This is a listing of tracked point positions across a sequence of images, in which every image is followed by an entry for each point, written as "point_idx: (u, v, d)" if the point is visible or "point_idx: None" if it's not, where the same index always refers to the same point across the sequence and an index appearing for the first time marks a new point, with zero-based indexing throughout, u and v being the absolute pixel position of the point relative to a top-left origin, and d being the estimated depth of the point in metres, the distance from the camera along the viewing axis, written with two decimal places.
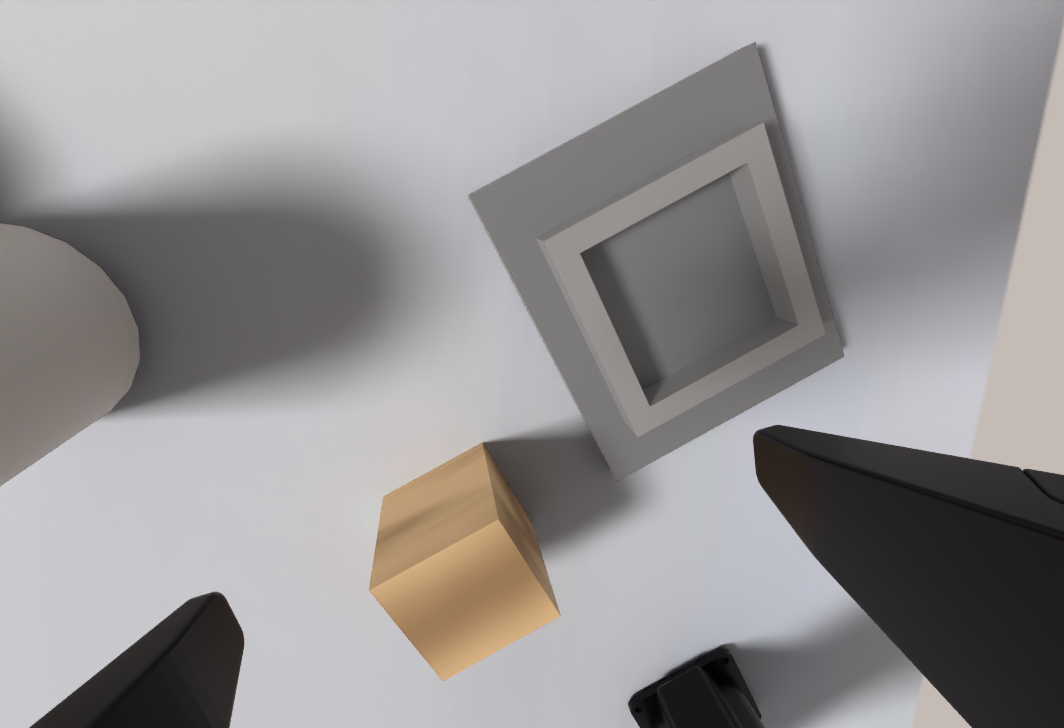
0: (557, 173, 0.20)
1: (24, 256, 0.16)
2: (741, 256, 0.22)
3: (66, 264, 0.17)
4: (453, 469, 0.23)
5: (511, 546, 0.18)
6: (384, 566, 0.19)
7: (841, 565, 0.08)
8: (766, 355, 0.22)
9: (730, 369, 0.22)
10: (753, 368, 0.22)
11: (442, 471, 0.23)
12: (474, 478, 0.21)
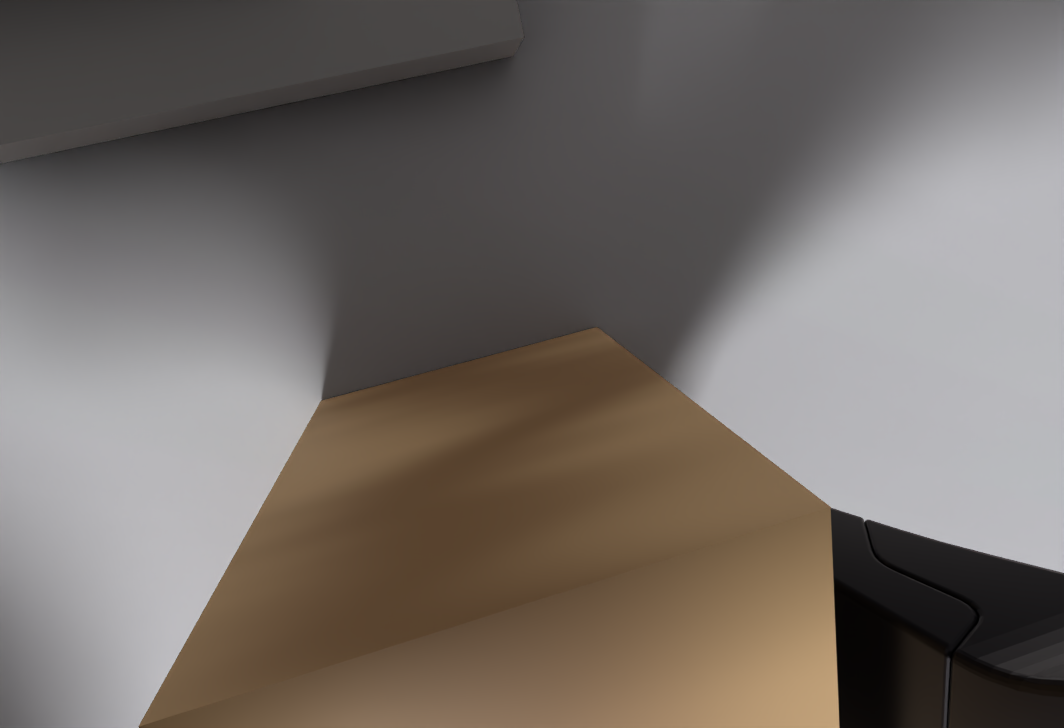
0: None
1: None
2: None
3: None
4: None
5: (334, 680, 0.04)
6: None
7: None
8: None
9: None
10: None
11: None
12: None
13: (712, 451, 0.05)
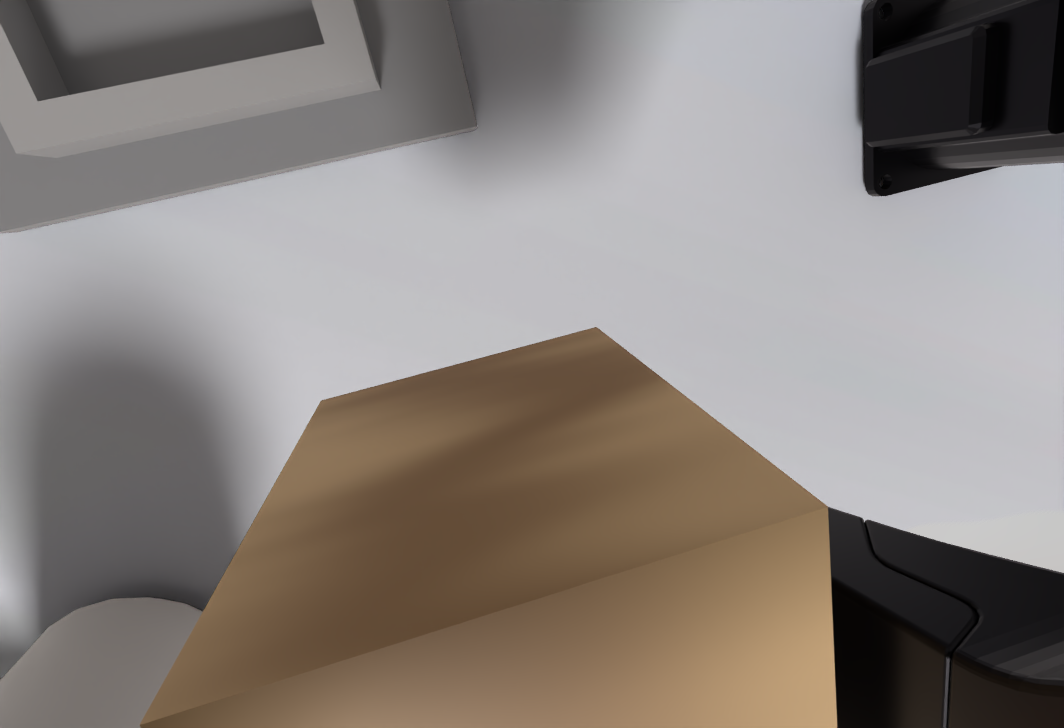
0: None
1: (4, 679, 0.16)
2: None
3: (43, 642, 0.17)
4: None
5: (334, 678, 0.04)
6: None
7: None
8: None
9: None
10: None
11: None
12: None
13: (710, 451, 0.05)
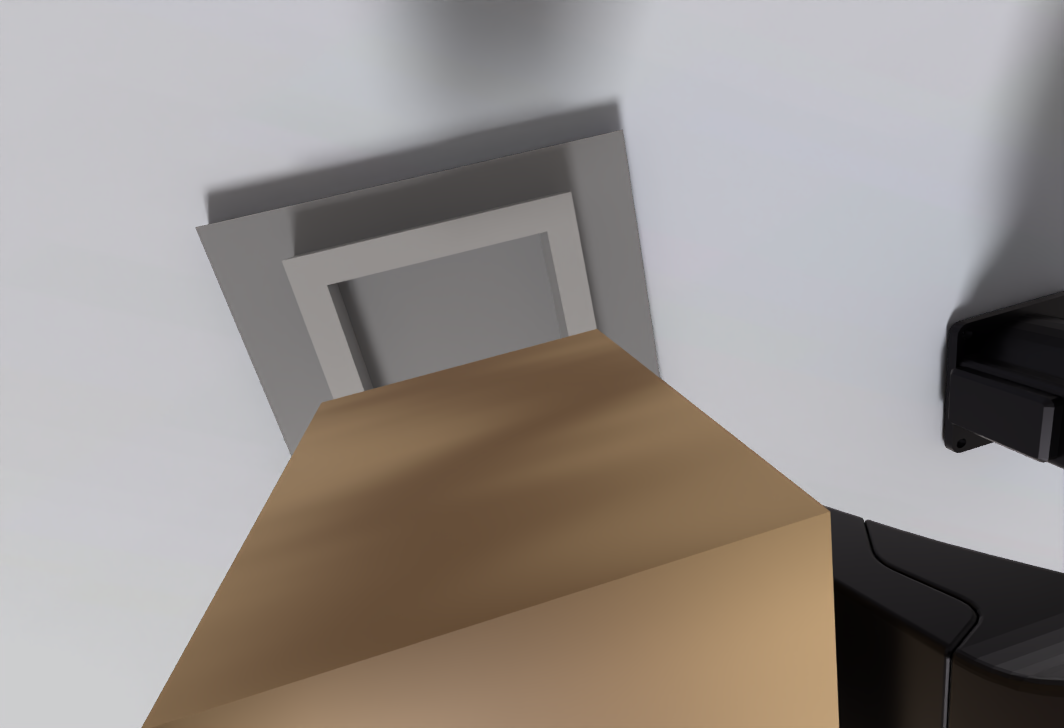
0: None
1: None
2: (449, 268, 0.18)
3: None
4: None
5: (335, 684, 0.04)
6: None
7: None
8: (573, 279, 0.17)
9: (575, 327, 0.18)
10: (583, 298, 0.18)
11: None
12: None
13: (712, 455, 0.05)
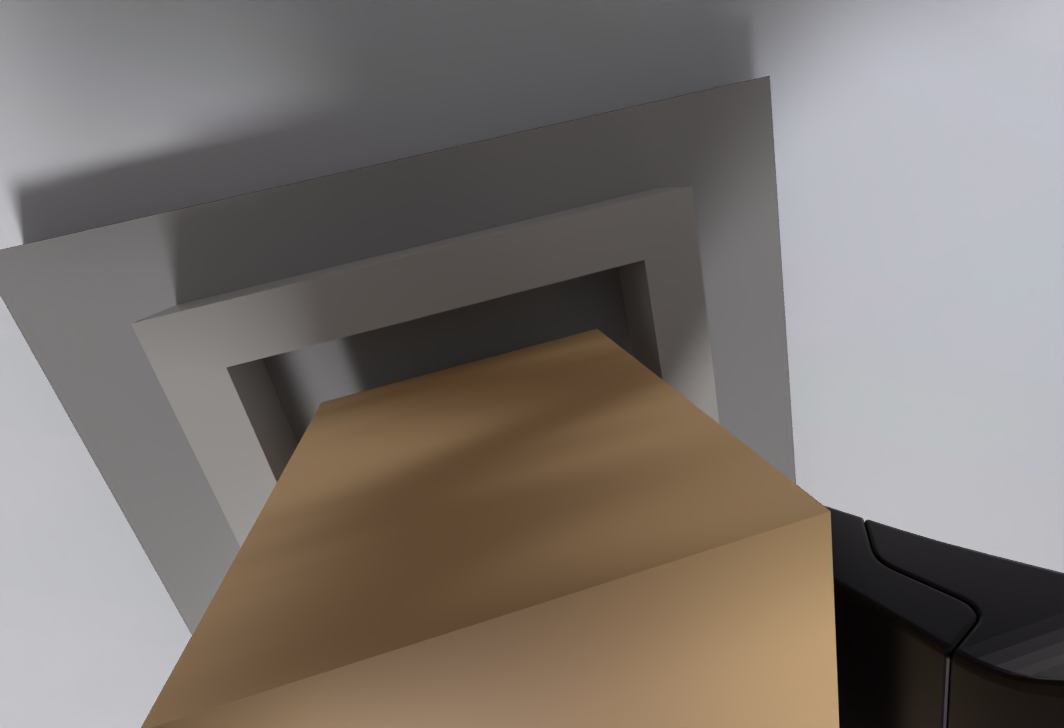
0: None
1: None
2: (460, 322, 0.10)
3: None
4: None
5: (336, 685, 0.04)
6: None
7: None
8: (685, 344, 0.10)
9: None
10: (701, 376, 0.10)
11: None
12: None
13: (712, 454, 0.05)
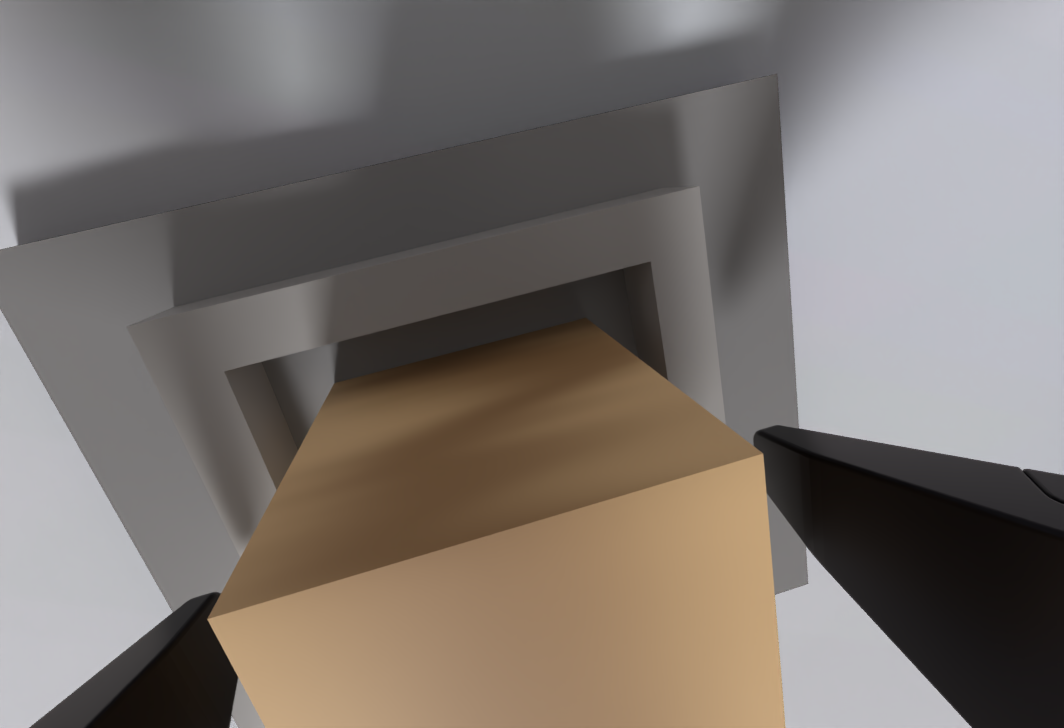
0: None
1: None
2: (463, 324, 0.10)
3: None
4: None
5: (361, 586, 0.05)
6: None
7: (841, 565, 0.08)
8: (692, 347, 0.09)
9: None
10: (708, 380, 0.10)
11: None
12: None
13: (675, 415, 0.06)
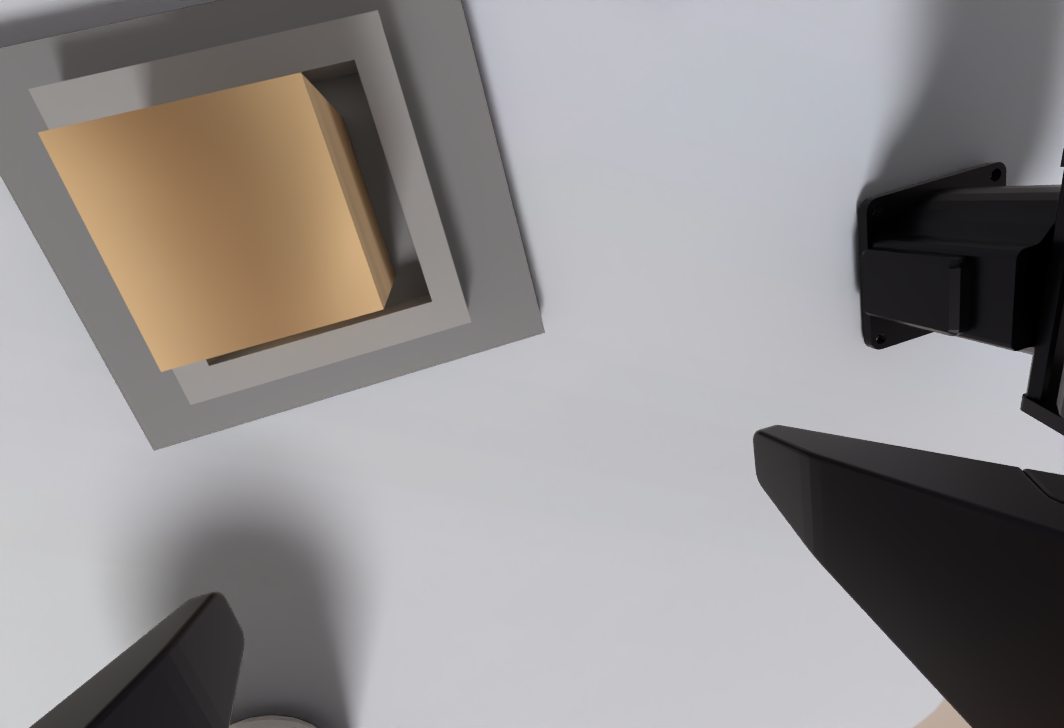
0: (130, 355, 0.17)
1: None
2: None
3: None
4: None
5: (108, 124, 0.10)
6: None
7: (841, 565, 0.08)
8: (393, 120, 0.15)
9: (403, 180, 0.16)
10: (409, 144, 0.15)
11: None
12: None
13: None
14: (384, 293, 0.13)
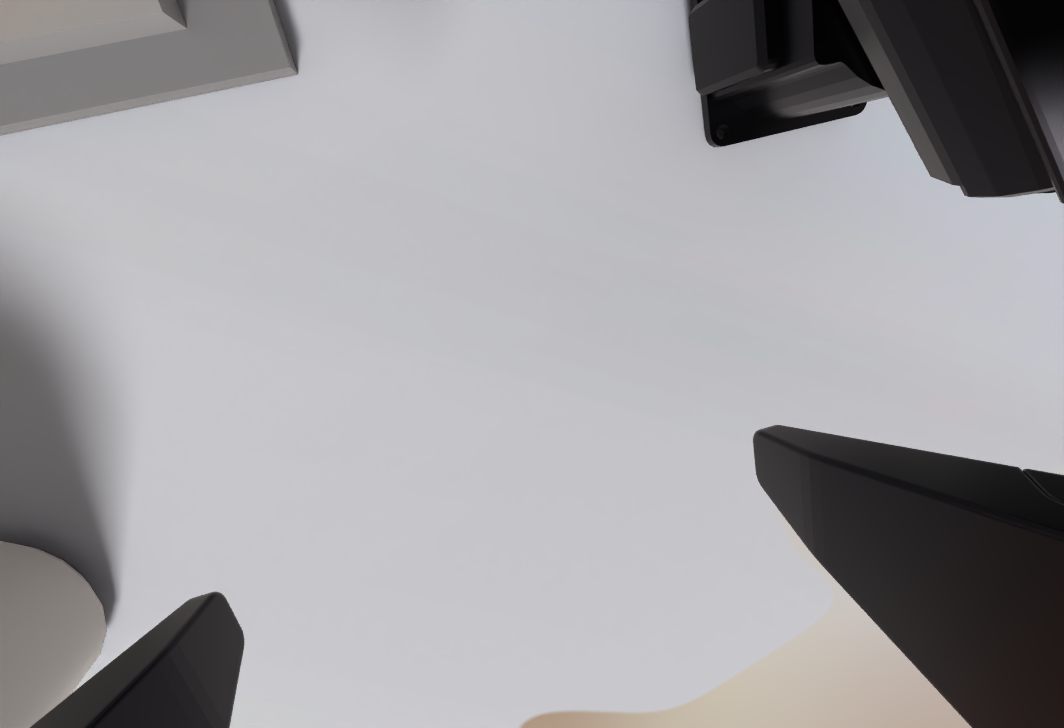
0: None
1: None
2: None
3: None
4: None
5: None
6: None
7: (841, 565, 0.08)
8: None
9: None
10: None
11: None
12: None
13: None
14: None
